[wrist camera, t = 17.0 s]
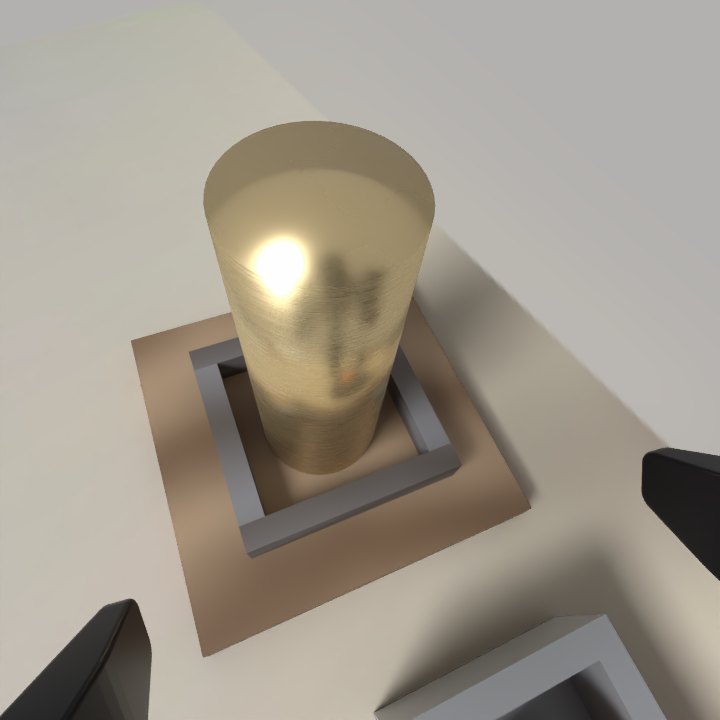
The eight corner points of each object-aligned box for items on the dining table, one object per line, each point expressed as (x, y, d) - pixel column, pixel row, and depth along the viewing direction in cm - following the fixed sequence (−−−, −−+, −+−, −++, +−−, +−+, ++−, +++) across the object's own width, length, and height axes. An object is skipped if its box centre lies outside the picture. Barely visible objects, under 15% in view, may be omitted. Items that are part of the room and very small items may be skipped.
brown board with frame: (523, 512, 21) (546, 499, 19) (208, 656, 18) (193, 659, 16) (392, 277, 27) (399, 247, 25) (137, 351, 24) (119, 323, 22)
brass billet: (372, 479, 21) (437, 296, 9) (255, 470, 21) (177, 272, 9) (377, 376, 23) (433, 132, 12) (272, 367, 23) (228, 111, 12)
